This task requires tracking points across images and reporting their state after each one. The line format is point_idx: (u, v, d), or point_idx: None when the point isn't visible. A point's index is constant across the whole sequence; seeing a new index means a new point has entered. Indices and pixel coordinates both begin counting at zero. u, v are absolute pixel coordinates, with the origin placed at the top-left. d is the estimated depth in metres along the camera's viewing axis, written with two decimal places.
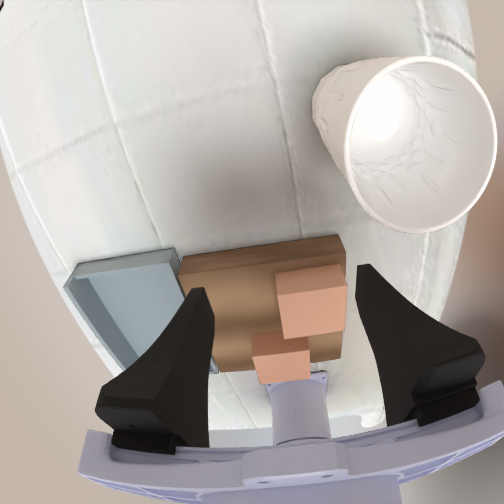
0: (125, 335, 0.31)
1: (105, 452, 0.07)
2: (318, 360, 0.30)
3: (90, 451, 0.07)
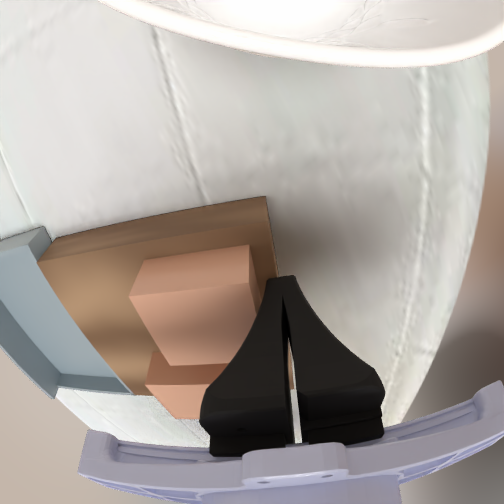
0: (32, 339, 0.22)
1: (105, 452, 0.07)
2: None
3: (90, 450, 0.07)
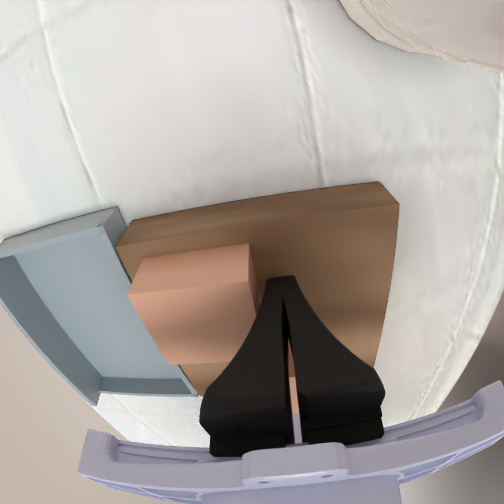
0: (73, 340, 0.21)
1: (105, 452, 0.07)
2: None
3: (90, 450, 0.07)
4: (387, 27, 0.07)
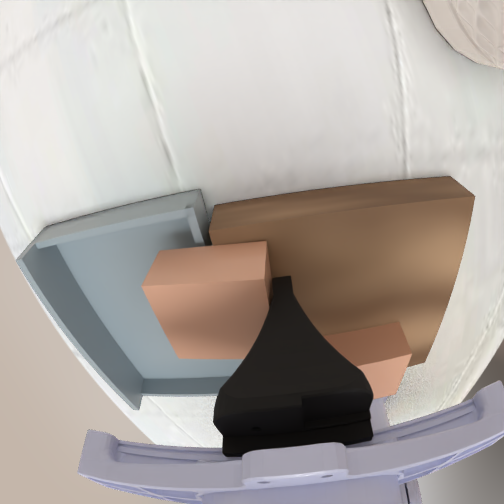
0: (117, 340, 0.21)
1: (105, 452, 0.07)
2: None
3: (90, 450, 0.07)
4: (479, 44, 0.07)
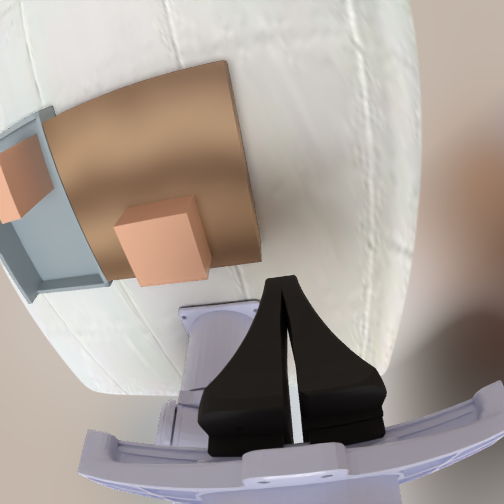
0: (20, 238, 0.23)
1: (105, 452, 0.07)
2: (228, 262, 0.22)
3: (90, 451, 0.07)
4: None
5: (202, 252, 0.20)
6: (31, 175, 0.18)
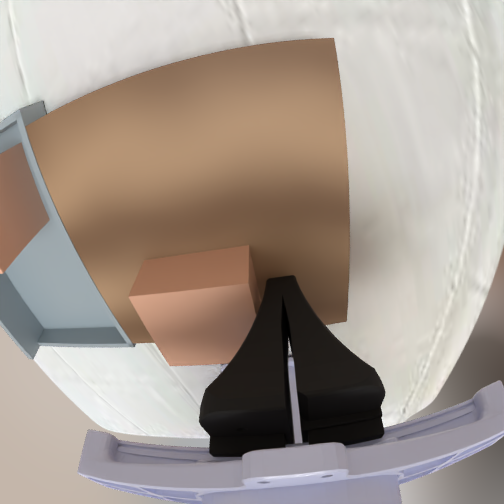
0: (11, 279, 0.17)
1: (105, 452, 0.07)
2: None
3: (90, 450, 0.07)
4: None
5: None
6: (15, 205, 0.12)
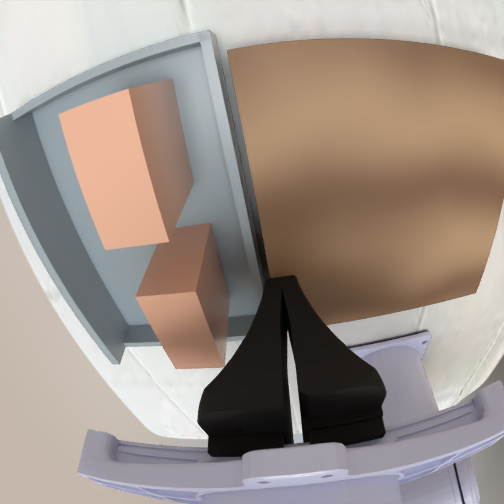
0: (96, 264, 0.16)
1: (105, 452, 0.07)
2: (448, 297, 0.15)
3: (90, 451, 0.07)
4: None
5: (178, 348, 0.13)
6: (173, 153, 0.11)
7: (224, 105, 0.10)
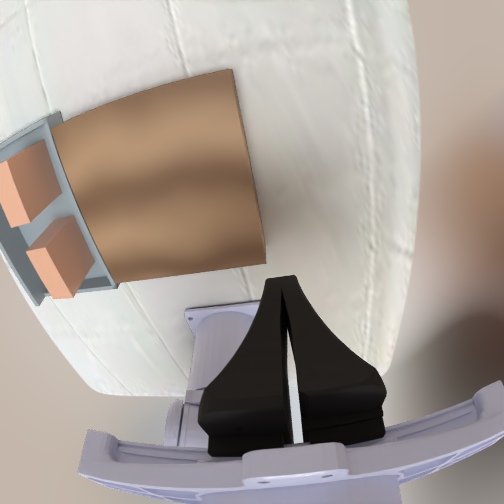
0: (27, 241, 0.24)
1: (105, 452, 0.07)
2: (234, 264, 0.23)
3: (90, 450, 0.07)
4: None
5: (49, 283, 0.21)
6: (40, 180, 0.18)
7: (58, 154, 0.18)
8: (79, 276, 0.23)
